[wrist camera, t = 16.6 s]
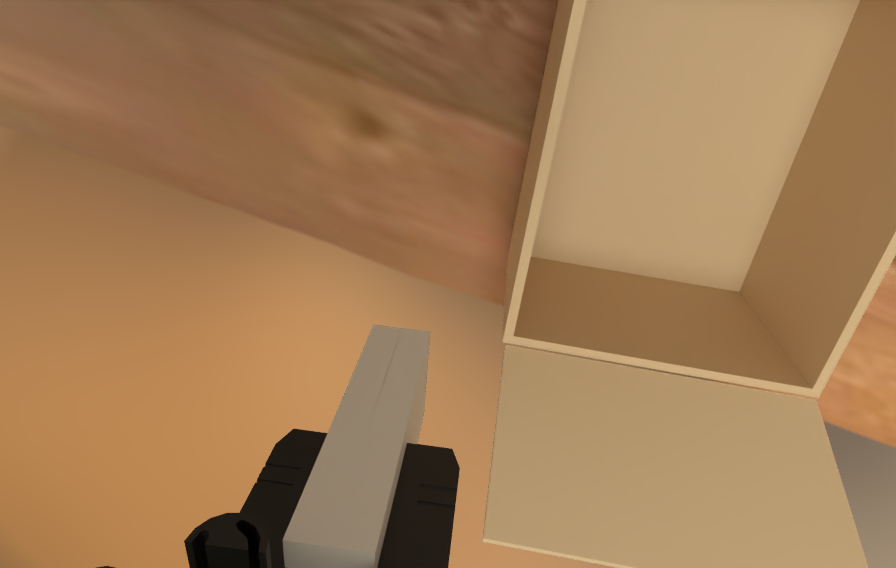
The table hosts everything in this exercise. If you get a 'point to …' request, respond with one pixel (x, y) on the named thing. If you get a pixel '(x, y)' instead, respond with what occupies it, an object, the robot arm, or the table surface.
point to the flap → (661, 470)
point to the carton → (708, 187)
